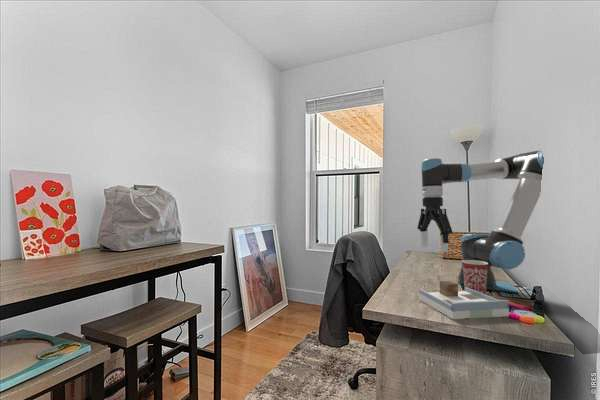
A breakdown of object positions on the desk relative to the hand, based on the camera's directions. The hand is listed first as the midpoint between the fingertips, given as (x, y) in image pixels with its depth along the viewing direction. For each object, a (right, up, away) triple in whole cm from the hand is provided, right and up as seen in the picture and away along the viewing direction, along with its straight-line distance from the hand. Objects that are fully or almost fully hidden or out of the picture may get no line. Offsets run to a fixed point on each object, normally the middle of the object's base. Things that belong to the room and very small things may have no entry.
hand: (434, 249), depth 119 cm
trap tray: (+3, -18, -15) cm, 24 cm away
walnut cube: (+2, -16, -8) cm, 18 cm away
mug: (+17, -19, 0) cm, 25 cm away
